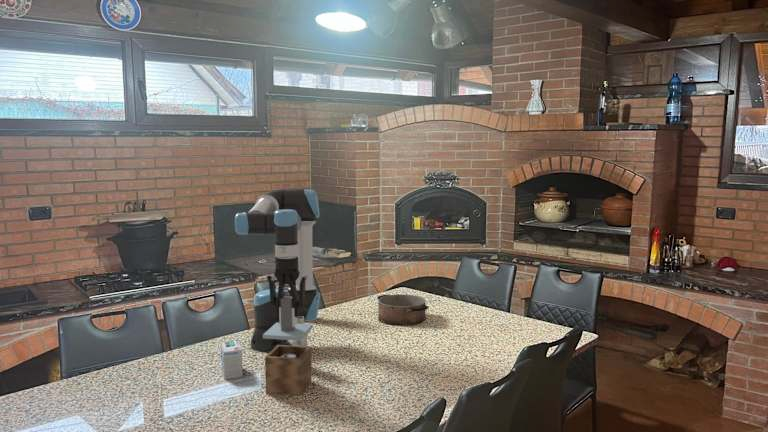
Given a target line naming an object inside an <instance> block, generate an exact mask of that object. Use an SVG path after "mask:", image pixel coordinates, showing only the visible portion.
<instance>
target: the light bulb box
mask: <svg viewBox="0 0 768 432" xmlns="http://www.w3.org/2000/svg"><path fill="white" fill-rule="evenodd" d="M240 343H241V342H240V341H239V340H234V341H226V342H220V356H221V358H220V359H221V360H220V361H221V362H220V363H221V365H220V366H221V373H222V376H223V380H231V379H236V378H242V377H243V375H244V374H243V347H242V345H241V344H240Z"/></svg>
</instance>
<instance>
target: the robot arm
mask: <svg viewBox="0 0 768 432" xmlns="http://www.w3.org/2000/svg"><path fill="white" fill-rule="evenodd" d="M319 204H320V203H319V200H318V194H317V192H316V190H314V189H307V188H306V189H305V188H303V189H297V188H295V189H284V188H283V189H275V190H271V191H268V192H266V193H264V194H262V195H261V196H259V197H258V198H257V199H256V201H255V203H254V206H253V207H252V208H251V209H250V210H249V211H248V212H238V213H236V214H235V216H234V231H235V232H236V234H238V235H245V236H248V235H250V236H251V235H274V255H275V258H274V260H275V261H274V264H275V266H274V267H275V271H274V273H272V274H271V273H270V274H269V275H267V276H266V280H267V282H268V284H269V285H268V286H269V288H268V289H264V290H260V291H258V292H257V293H256V294H254V296H253V313H254V314H253V318H254V319H253V320H254V330H253V333H252V336H251V338H250V349H252V350H253V351H257V352H265V353H267V352H268V353H270V352H271V351H272V350H273V349H274V348H275V347H276V346H277V345H288V344H289V340H281V339H264V338H263V334H264V333H265V332H266V331H267V330H269V329H270V328H271V327H272V326H273V325H274V324H275V323H280V326H281V298H282V297H283V296H292V300H293V305H294V306H293V307H292V327H295V326H296V325H297V317H298V316H303V317H304V322H308V321H309V322H311V321H314V320H316V319H317V318H318V314H319V308H320V299H321V293H320V292H319V291H317V287H316V286H315V285H314V282H313V281H314V280H313V279H314V278H313V277H314V276H313V274H314V271H313V269H314V267H313V265H314V264H313V262H314V261H313V256H314V255H313V226H314V225H315V224H316V223H317V219H318V218H320V205H319ZM276 280H277V282H278V288H276ZM286 285H288V286H289V287H287V292H285V286H286ZM288 346H289V345H288Z"/></svg>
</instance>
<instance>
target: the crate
mask: <svg viewBox="0 0 768 432" xmlns="http://www.w3.org/2000/svg"><path fill="white" fill-rule="evenodd" d="M284 354H295V355H296V357H297V358H289V357H281V356H282V355H284ZM264 364H265V365H264V371H265V372H264V373H265V394H266V395H281V396H282V395H283V396H302V395H303V394H304V393H305V391H306V389H307V388H308V387H309V385H310V384H311V382H312V346H307V347H306V346H292V345H277V346H276V347H275V348H274V349H273V350H272V351H270V352H268V354H266V356H265V357H264Z"/></svg>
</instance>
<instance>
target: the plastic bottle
mask: <svg viewBox="0 0 768 432" xmlns="http://www.w3.org/2000/svg"><path fill="white" fill-rule="evenodd" d="M297 324H305V321H304V317H303V316H298V317H297ZM308 336H309V333H308V334H307V335H306V336H305V337H304V338H303V339H302V340H301V341H300V340H291V344H292V345H291V346H306V347H308Z"/></svg>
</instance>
